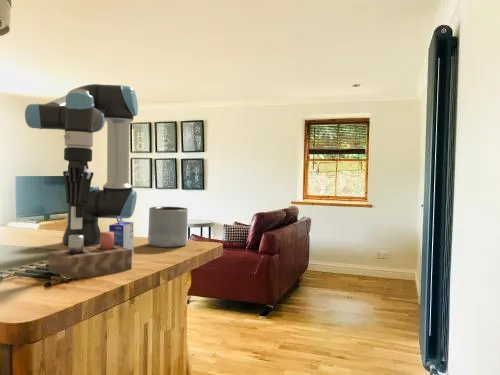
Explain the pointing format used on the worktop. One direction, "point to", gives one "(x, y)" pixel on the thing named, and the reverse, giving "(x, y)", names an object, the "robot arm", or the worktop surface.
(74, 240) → the grey plug
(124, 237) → the ink cartridge box
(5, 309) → the worktop surface
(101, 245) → the red plug
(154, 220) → the planter
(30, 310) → the worktop surface
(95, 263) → the walnut block
